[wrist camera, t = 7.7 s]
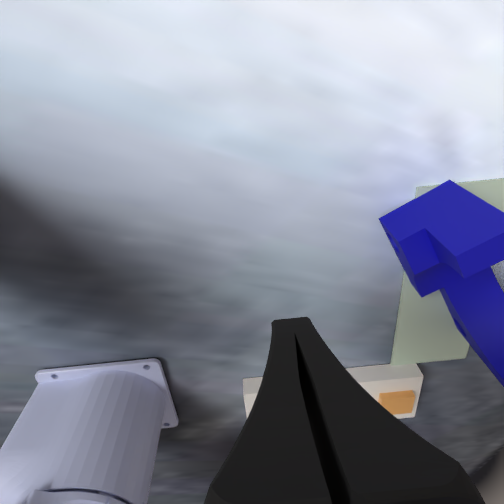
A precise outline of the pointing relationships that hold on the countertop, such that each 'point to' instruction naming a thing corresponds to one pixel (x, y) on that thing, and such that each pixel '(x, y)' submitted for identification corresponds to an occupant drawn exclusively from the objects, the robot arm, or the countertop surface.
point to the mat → (435, 304)
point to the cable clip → (456, 261)
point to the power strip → (371, 387)
